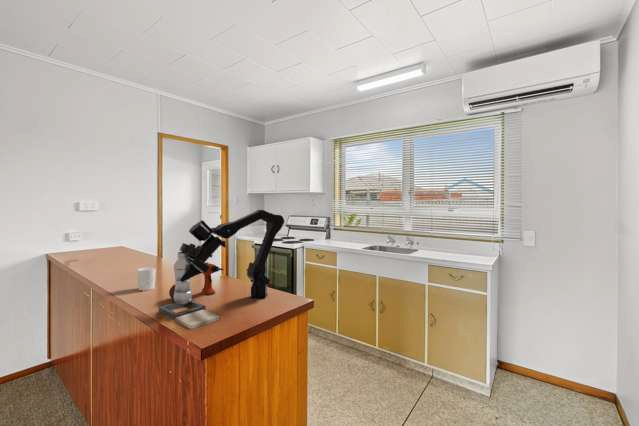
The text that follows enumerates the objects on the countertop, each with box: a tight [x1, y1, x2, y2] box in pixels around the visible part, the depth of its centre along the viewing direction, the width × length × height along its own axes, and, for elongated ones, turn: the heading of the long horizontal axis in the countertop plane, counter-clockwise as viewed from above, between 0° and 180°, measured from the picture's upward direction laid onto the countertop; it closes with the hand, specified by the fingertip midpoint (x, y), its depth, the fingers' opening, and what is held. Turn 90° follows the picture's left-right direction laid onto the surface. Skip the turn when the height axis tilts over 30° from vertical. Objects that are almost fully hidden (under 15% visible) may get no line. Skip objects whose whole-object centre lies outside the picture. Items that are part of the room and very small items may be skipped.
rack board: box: [174, 310, 221, 330], centre depth 108 cm, size 11×11×1 cm
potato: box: [168, 284, 175, 300], centre depth 130 cm, size 8×12×8 cm, turn 53°
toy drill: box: [201, 261, 224, 296], centre depth 138 cm, size 5×19×15 cm, turn 47°
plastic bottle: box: [173, 251, 193, 304], centre depth 117 cm, size 6×7×20 cm
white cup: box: [136, 266, 157, 292], centre depth 147 cm, size 8×8×10 cm
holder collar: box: [158, 299, 207, 321], centre depth 117 cm, size 12×12×2 cm
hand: (178, 279), depth 116 cm, fingers closed on plastic bottle, 6 cm apart
